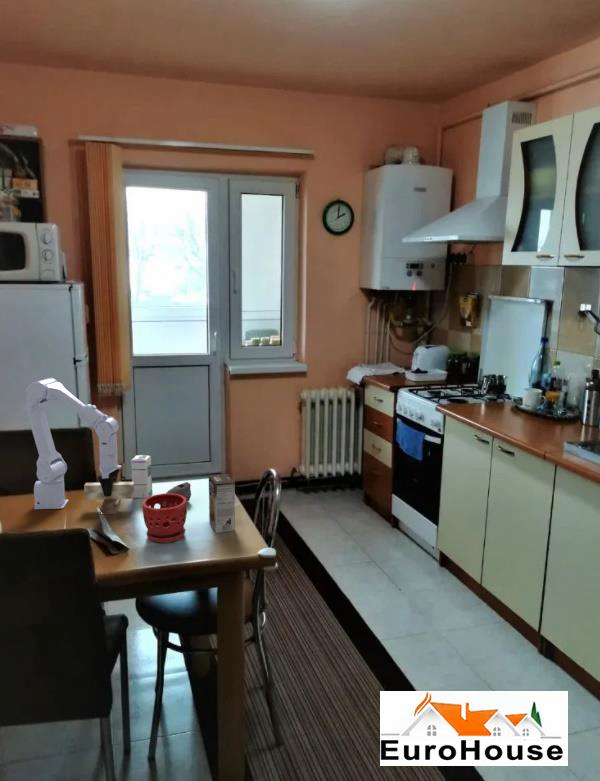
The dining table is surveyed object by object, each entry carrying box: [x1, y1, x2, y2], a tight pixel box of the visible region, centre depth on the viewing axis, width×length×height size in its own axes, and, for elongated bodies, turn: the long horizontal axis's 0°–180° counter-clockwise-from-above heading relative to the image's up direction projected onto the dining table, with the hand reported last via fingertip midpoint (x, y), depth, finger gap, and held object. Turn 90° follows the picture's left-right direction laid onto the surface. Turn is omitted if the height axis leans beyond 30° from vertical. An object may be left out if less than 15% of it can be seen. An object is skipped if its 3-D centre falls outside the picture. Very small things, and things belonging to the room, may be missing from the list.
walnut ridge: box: [99, 499, 122, 515], centre depth 210 cm, size 5×10×4 cm, turn 7°
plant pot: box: [141, 492, 188, 544], centre depth 186 cm, size 13×13×12 cm
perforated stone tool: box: [162, 481, 192, 506], centre depth 213 cm, size 15×5×7 cm, turn 149°
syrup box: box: [130, 454, 153, 499], centre depth 223 cm, size 6×6×14 cm
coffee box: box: [208, 473, 236, 534], centre depth 195 cm, size 9×6×16 cm
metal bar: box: [83, 481, 135, 501], centre depth 209 cm, size 16×3×5 cm, turn 97°
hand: (110, 492), depth 209 cm, fingers open, 7 cm apart
